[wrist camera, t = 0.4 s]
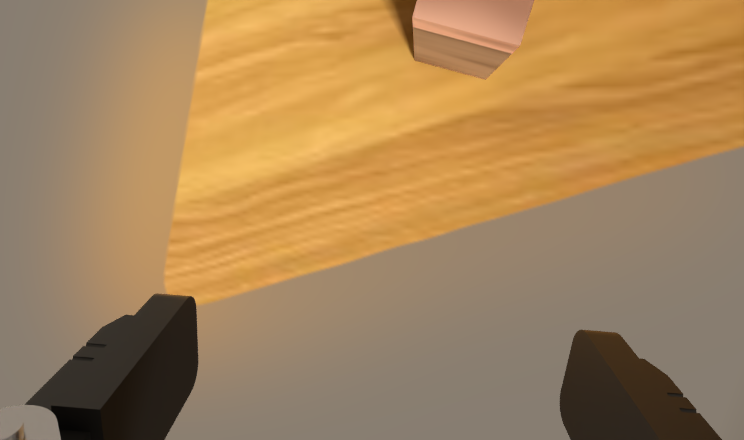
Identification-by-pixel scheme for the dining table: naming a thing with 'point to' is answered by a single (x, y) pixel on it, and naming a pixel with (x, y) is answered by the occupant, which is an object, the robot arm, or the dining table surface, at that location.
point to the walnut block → (468, 33)
